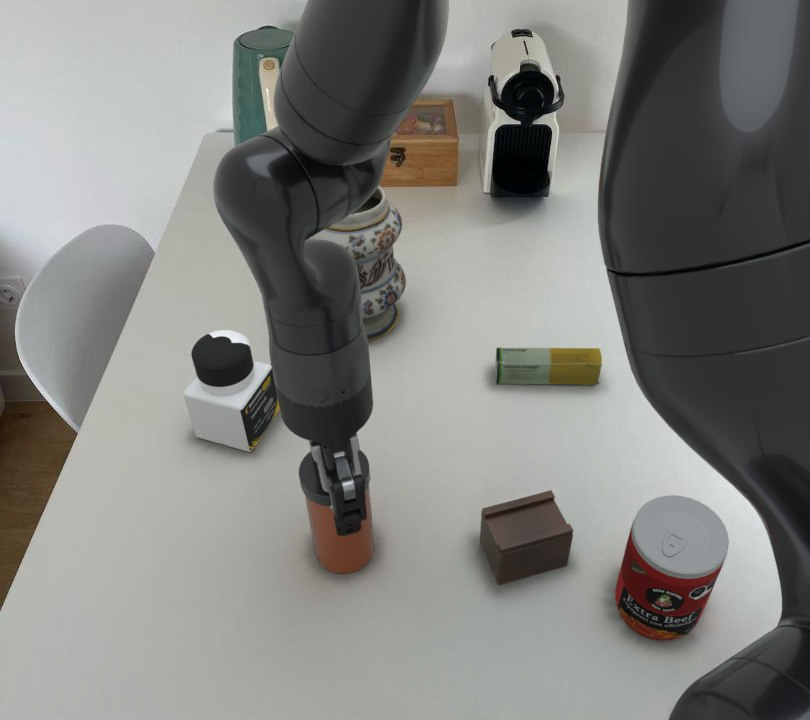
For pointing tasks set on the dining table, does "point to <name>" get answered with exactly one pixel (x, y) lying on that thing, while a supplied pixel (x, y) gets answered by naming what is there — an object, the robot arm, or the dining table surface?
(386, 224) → the apothecary jar
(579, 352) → the medication box
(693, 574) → the canned food
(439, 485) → the dining table surface
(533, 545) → the block
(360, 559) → the jar
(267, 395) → the medicine bottle
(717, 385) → the robot arm
